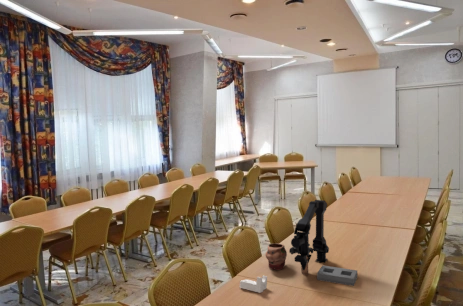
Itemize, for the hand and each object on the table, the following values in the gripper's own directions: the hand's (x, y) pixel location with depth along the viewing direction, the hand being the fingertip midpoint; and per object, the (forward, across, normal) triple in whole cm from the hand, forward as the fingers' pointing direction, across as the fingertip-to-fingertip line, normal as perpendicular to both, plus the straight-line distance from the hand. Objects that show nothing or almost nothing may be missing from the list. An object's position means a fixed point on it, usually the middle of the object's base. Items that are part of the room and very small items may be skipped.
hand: (304, 268), depth 209 cm
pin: (+3, 0, 0) cm, 3 cm away
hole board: (+3, 0, +19) cm, 19 cm away
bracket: (+3, +29, -20) cm, 35 cm away
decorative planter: (+3, -4, -19) cm, 20 cm away
